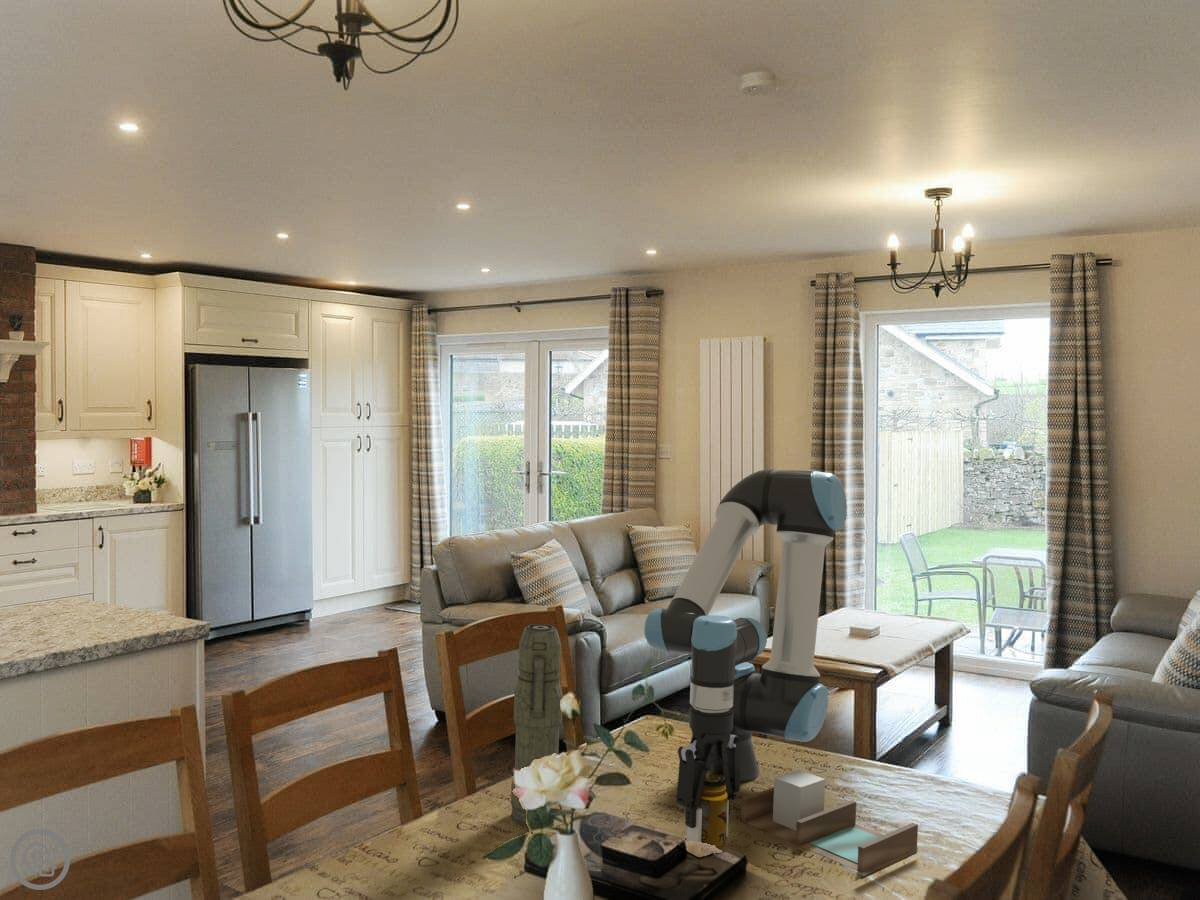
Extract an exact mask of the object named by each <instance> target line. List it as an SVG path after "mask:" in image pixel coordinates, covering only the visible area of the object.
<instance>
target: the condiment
mask: <svg viewBox="0 0 1200 900" xmlns="http://www.w3.org/2000/svg"><path fill="white" fill-rule="evenodd" d="M727 803H728V795H727V792H726V778H725V777H724V776H723V775H721V774H718V773H714V772H707V774H706V778H705V782H704V786H703V791H702V795H701V799H700V803H699V808H701V809H702V828H701V842H702V843H707V844H710V845H715V846H718V847H721V846H724V845H725V844H726V843H727V837H726V831H727V830H726V828H727ZM684 839H685V840H687V837H685V838H684Z"/></svg>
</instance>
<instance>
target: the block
mask: <svg viewBox="0 0 1200 900" xmlns="http://www.w3.org/2000/svg"><path fill="white" fill-rule="evenodd" d="M825 784H826V778H823V777H820V776H817V775H815V774H812V773H809V772H806V771H804V770H800V769H796V770H793V771H790V772H788V773H783V774H781V775H777V776H774V778H773V788H774V802H773V821H774V822H776V823H779V824H781V825H783V826H786V827H788V828H791V829H793V830H795V831H796V822H797V821H798V820H800V819H803V818H806V817H808V816H811V815H814V814H816V813H819V812H822V811H824V810H825V792H826V791H825V789H826V785H825Z"/></svg>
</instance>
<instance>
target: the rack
mask: <svg viewBox="0 0 1200 900" xmlns="http://www.w3.org/2000/svg"><path fill="white" fill-rule="evenodd" d="M773 802H774V787H771V788H769V789H765V790H763V791H760V792H757V793H754V794H751V795H748V796H745V797H742V798H741V800H740V804H741V805H740V821H741V822H744V823H746V824H748V825H750V826H752V827H754V828H757V829H760V830H762V831H763V832H767V833H769V834H771V835H773V836H776V837H778V838H781V839H783V840H784V841H788V842H790V843H792V844H794V845H796V846H799V847H801V848H803V849H806V850H807V851H811V852H813V853H815V854H817V855H820V856H822V857H824V858H827V859H829V860H831V861H834V862H836V863H839V864H841V865H843V866H845V867H848V868H849V869H852V870H854V871H856V872H859V873H861V874H864V873H866V872H868V871H870V870H873V869H875V868H877V867H879V866H881V865H883V864H885V863H887V862H890V861H892V860H894V859H896V858H898V857H901V856H903V855H905V854H907V853H909V852H911V851H914V850H916V849H917V848H918V831H919V828H918V827H919V824H917V823H915V822H911V823H908V824H906V825H904V826H901V827H899V828H897V829H895V830H893V831H890V832H888V833H885V834H884V833H881V832H878V831H876V830H873V829H870V828H867V827H866V826H863V825H860V824H857V822H856V821H857V820H856V818H857V801H856V800H852V799H851V800H848V801H846V802H843V803H841V804H838V805H836V806H833V807H830V808H827V809H824V811H822V812H819V813H816V814H814V815H811V816H808V817H806V818H803V819H800V820H798V821H797V822H796V831H795V830H793V829H791V828H788V827H786V826H783V825H781V824H779V823H776V822H774V821H773ZM917 854H918V851H915V852H913V853H910V854H909V855H905V856H904V857H902V858H900V859H898V860H895V861H893V862H891V863H889V864H887V865H884V866H883V867H880V868H878V869H876V870H874V871H872V872H868V874H865V875H862V876H861V877H860V879H861V880H863V879H865V878H867V876H868V877H870V876H871V875H874V874H875V873H877V872H880V871H883V870H884V869H887V868H888V867H891V866H893V865H895V864H897V863H900V862H903V860H906V859H908V858H910V857H912V856H914V855H917Z"/></svg>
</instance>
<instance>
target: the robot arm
mask: <svg viewBox="0 0 1200 900" xmlns="http://www.w3.org/2000/svg"><path fill="white" fill-rule="evenodd" d="M842 483H843V482H841V480H840V478H839V477H838V476H837V475H835V474H834V473H831V472H824V471H818V470H791V469H776V468H773V469H772V468H767V469H766V468H765V469H762V470H757V471H756V472H752V473H751V474H748V475H747V476H746V477H744V478H743V479H741V480H740V481H738V482H737V483H736V484H735V485H734V486H732V487H731V489H729V490H728V492H727V493H726V494H725V495H724V496H723V497H722V499H721V500H720V503H718V505H717V508H716V509H715V519H716V520H715V521H714V523H713V524H712V527H711V529H710V531H709V532H708V534H707V536H706V538H705V539H704V541H703V543H702V544H701V547H700V548H699V551H698V552H697V554H696V556H695V557H694V559H693V562H692V563H691V565H690V567H688V571H687V572H686V574H685V576H684V577H683V580H682V581H681V583H680V585H679V587H678V589H677V590H676V592H675V594H674V595H673V597H672V599H671V601H670V603H669V604H668V605H667V608H664V607H663V608H654V609H652V610H651V611H650V612H649V614H647V616H646V619H645V622H644V628H643V629H644V637H645V640H646V642H647V643H648V645H649V646H650V647H652V648H654V649H659V650H663V651H666V652H667V653H668V652H673V653H678V654H679V653H681V654H685V655H690V656H691V667H690V669H691V672H690V673H691V674H690V675H691V676H690V687H689V689H690V690H689V704H690V705H691V707H690V708H689V716H688V717H689V720H688V721H689V723H688V727H689V729H690V730H691V734H692V735H691V739H690V743H689V745H687V746H685V747H684V746H679V747H678V749H677V753H678V759H679V766H678V776H677V777H678V778H677V788H676V789H677V790H676V804H677V805H679V806H682V807H683V808H685V813H684V814H685V820H684V823H685V826H686V838H687V840H686V841H694V842H701V828H702V809H701V808H699V803H700V799H701V795H702V791H703V786H704V782H705V778H706V774H707V772H714V773H718V774H721V775H723V776H724V777H725V778H726V792H727V795H728V803H727V828H726V830H727V831H726V838H727V837H729V835H728V834H729V817H730V814H731V800H732V801H735V800H736V798H737V795H736V794H737V793H739V792H740V789H741V787H740V786H741V785H740V784H741V783H746V782H747V783H748V782H750V781H752V780H755V779H756V778H758V777H759V776H760V765H759V762H758V761H757V756H756V751H755V749H754V748H755V747H754V743H753V733H756V734H762V735H766V736H772V737H776V738H781V739H785V740H786V741H796V742H802V743H803V742H804V743H806V742H807V743H808V742H810V741H812V740H813V739H814V738H816V736H817V735H818V734H819V732H820V730H821V728H822V727H823V724H824V722H825V720H826V715H827V712H828V708H829V701H830V700H829V699H830V698H829V691H828V688H827V686H825V685H824V684H823V683H820V682H821V681H820V679H821V674H820V672H819V671H818V669H817V668H816V666H815V664H814V663H815V653H816V652H815V650H816V645H817V644H816V643H817V642H816V641H817V634H818V633H817V632H818V631H817V630H818V623H819V621H818V620H819V614H820V613H819V611H820V604H821V601H820V600H821V593H822V592H821V590H822V584H823V582H822V581H823V571H824V564H825V563H824V562H825V552H826V546H827V545H829V544H830V543H831V542H833V540H835V539H834V538H835V531H836V532H838V531H840V530H842V529H843V528H844V526H845V523H846V520H847V513H848V512H847V510H848V507H847V497H846V492H845V489H844V486H843V484H842ZM764 525H774V526H776V532H775V533H776V535H777V536H778V537H779V539H781V543H782V545H781V556H780V565H779V575H778V585H777V595H776V601H775V602H776V605H775V611H774V613H775V614H774V621H773V622H774V624H773V629H772V630H773V632H772V633H773V634H772V641H771V652H770V658H769V660H768V661H767V662H765V663H764V664H763V665H762V666H761V671H760V672H761V673H757V672H756V668H755V666H754V664H753V663H750V662H749V661H752V660H754V659H756V658H757V657H759V656H760V655H761V654H762V653H763V651H764V650H765V648H766V646H767V641H768V638H767V637H768V636H767V632H766V630H765V628H764V626H763V625H762V624H761V622H759V621H758V620H756V619H754V618H752V617H738V618H736V619H733V618H731V617H729V616H724V615H719V614H718V615H715V614H714V615H713V614H710V613H711V610H712V608H713V607H714V604H715V603H716V601H717V599H718V597H719V595H720V593H721V591H722V589H723V587H724V585H725V583H726V582H727V580H728V577H729V576H730V574H731V572H732V570H733V568H734V566H735V564H736V563H737V560H738V558H739V557H740V555H741V553H742V550H743V548H744V547H745V545H746V543H747V541H748V539H749V537H752V536H754V535H755V534H757V533H758V530H759V529H760V527H761V526H764ZM735 793H736V794H735Z"/></svg>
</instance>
